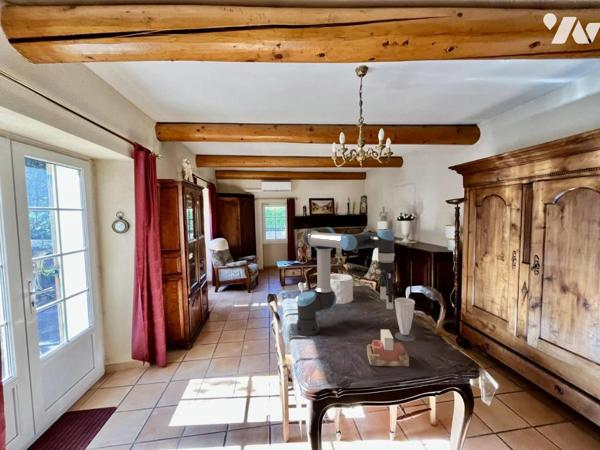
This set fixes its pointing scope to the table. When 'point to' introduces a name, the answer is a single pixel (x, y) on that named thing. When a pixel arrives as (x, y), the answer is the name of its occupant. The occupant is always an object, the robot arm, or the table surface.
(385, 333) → the white block
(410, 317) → the cup
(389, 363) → the cradle
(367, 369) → the table surface
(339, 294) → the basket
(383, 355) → the red notched block
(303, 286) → the potted plant
